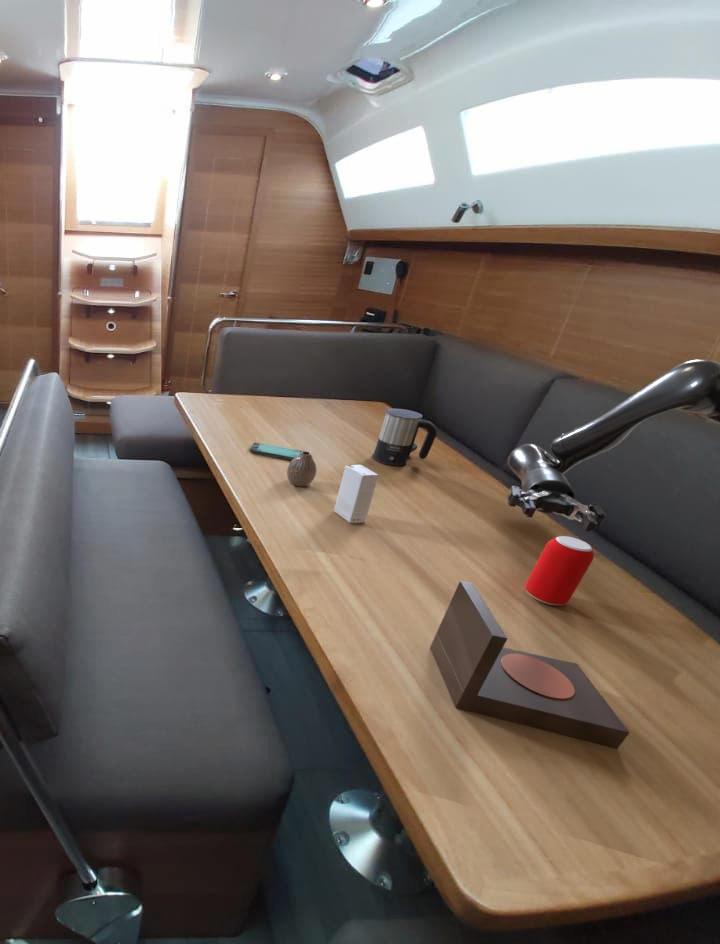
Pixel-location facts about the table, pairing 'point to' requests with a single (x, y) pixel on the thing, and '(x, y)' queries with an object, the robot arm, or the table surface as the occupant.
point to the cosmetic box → (355, 493)
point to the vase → (302, 469)
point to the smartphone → (274, 451)
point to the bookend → (516, 677)
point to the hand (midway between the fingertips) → (560, 520)
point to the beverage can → (559, 570)
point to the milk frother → (402, 437)
